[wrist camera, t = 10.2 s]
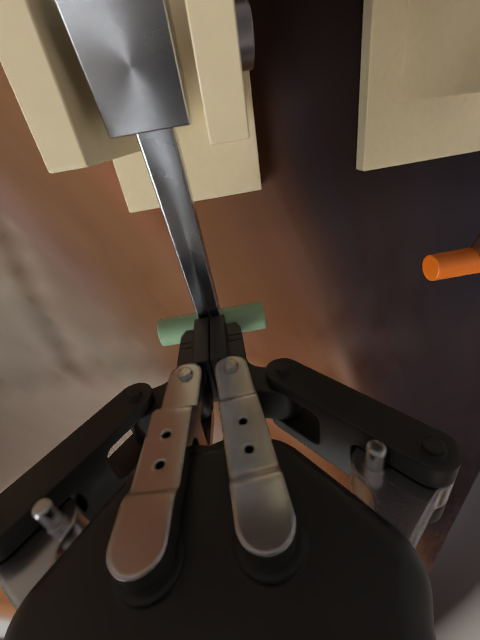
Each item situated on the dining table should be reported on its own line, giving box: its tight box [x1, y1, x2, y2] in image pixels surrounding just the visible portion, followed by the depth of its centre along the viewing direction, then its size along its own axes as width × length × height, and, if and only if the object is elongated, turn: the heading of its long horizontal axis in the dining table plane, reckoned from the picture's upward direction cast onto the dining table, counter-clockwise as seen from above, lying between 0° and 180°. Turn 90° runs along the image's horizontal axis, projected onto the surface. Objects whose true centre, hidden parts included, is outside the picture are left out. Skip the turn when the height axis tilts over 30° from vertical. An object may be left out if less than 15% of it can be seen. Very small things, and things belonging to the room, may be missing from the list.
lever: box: [54, 0, 266, 346], centre depth 12 cm, size 13×6×2 cm, turn 9°
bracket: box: [0, 0, 262, 213], centre depth 12 cm, size 11×8×13 cm
